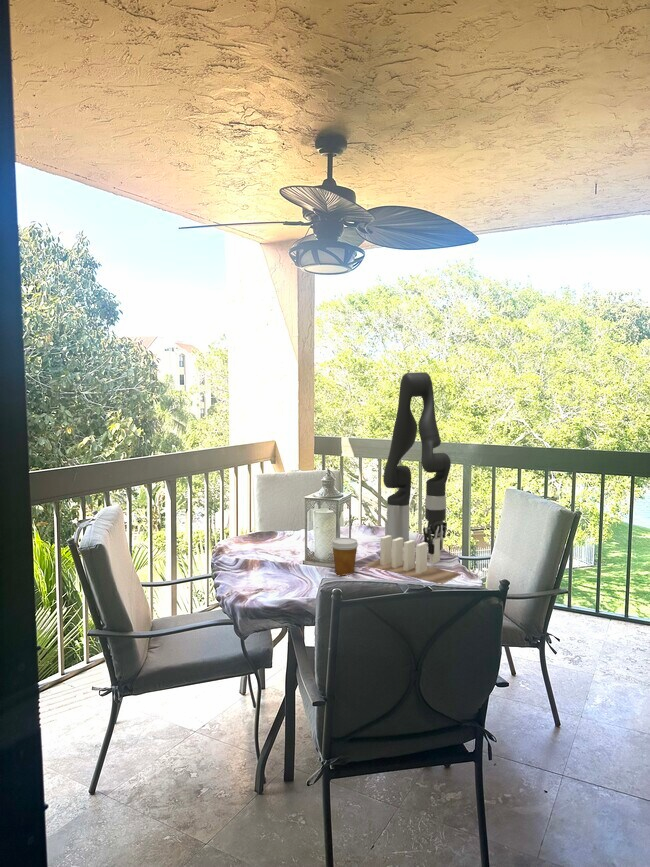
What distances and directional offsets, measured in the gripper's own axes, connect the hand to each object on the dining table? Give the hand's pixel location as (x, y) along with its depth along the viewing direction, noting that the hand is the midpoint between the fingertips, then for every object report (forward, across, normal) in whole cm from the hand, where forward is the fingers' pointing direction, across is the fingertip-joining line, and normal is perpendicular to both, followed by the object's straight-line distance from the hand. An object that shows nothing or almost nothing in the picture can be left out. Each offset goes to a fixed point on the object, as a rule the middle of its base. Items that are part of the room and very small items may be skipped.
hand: (434, 551), depth 212 cm
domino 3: (+4, +13, -3) cm, 14 cm away
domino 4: (+4, +13, +2) cm, 14 cm away
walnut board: (+5, +13, -2) cm, 14 cm away
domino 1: (+4, +13, -13) cm, 19 cm away
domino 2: (+4, +13, -8) cm, 16 cm away
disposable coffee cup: (+5, +30, -19) cm, 36 cm away
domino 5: (+5, 0, 0) cm, 5 cm away
